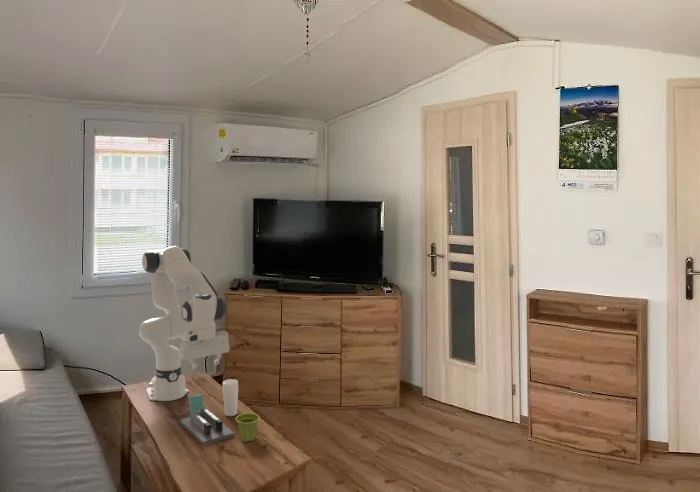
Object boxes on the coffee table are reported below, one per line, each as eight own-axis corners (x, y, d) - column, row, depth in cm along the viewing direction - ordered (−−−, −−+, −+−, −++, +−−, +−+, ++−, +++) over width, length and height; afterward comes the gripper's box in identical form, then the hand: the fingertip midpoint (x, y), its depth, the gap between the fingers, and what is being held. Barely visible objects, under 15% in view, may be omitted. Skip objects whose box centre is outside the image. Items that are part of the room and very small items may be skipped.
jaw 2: (203, 418, 232) (202, 409, 231) (206, 418, 233) (206, 409, 232) (219, 432, 219) (218, 422, 219) (222, 431, 220) (222, 421, 220)
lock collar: (189, 418, 232) (189, 396, 231) (202, 415, 235) (201, 393, 234) (192, 420, 229) (192, 398, 228) (204, 417, 233) (204, 395, 232)
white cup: (234, 418, 237) (234, 384, 235) (220, 416, 238) (219, 383, 237) (241, 412, 243) (240, 379, 242) (226, 410, 245) (226, 378, 243)
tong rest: (179, 422, 231) (178, 412, 231) (208, 415, 239) (207, 405, 239) (203, 445, 211) (203, 434, 211) (234, 436, 219) (234, 425, 218)
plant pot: (264, 436, 220) (264, 415, 219) (250, 445, 211) (250, 424, 210) (245, 431, 223) (244, 411, 222) (231, 441, 215) (230, 420, 214)
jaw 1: (191, 421, 229) (191, 412, 228) (195, 421, 229) (195, 411, 229) (207, 435, 216) (207, 425, 216) (210, 434, 217) (210, 424, 216)
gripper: (224, 328, 230) (226, 360, 231) (177, 336, 217) (178, 369, 218) (231, 330, 225) (232, 363, 226) (183, 338, 212) (184, 373, 213)
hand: (205, 366), depth 222 cm, fingers open, 8 cm apart
